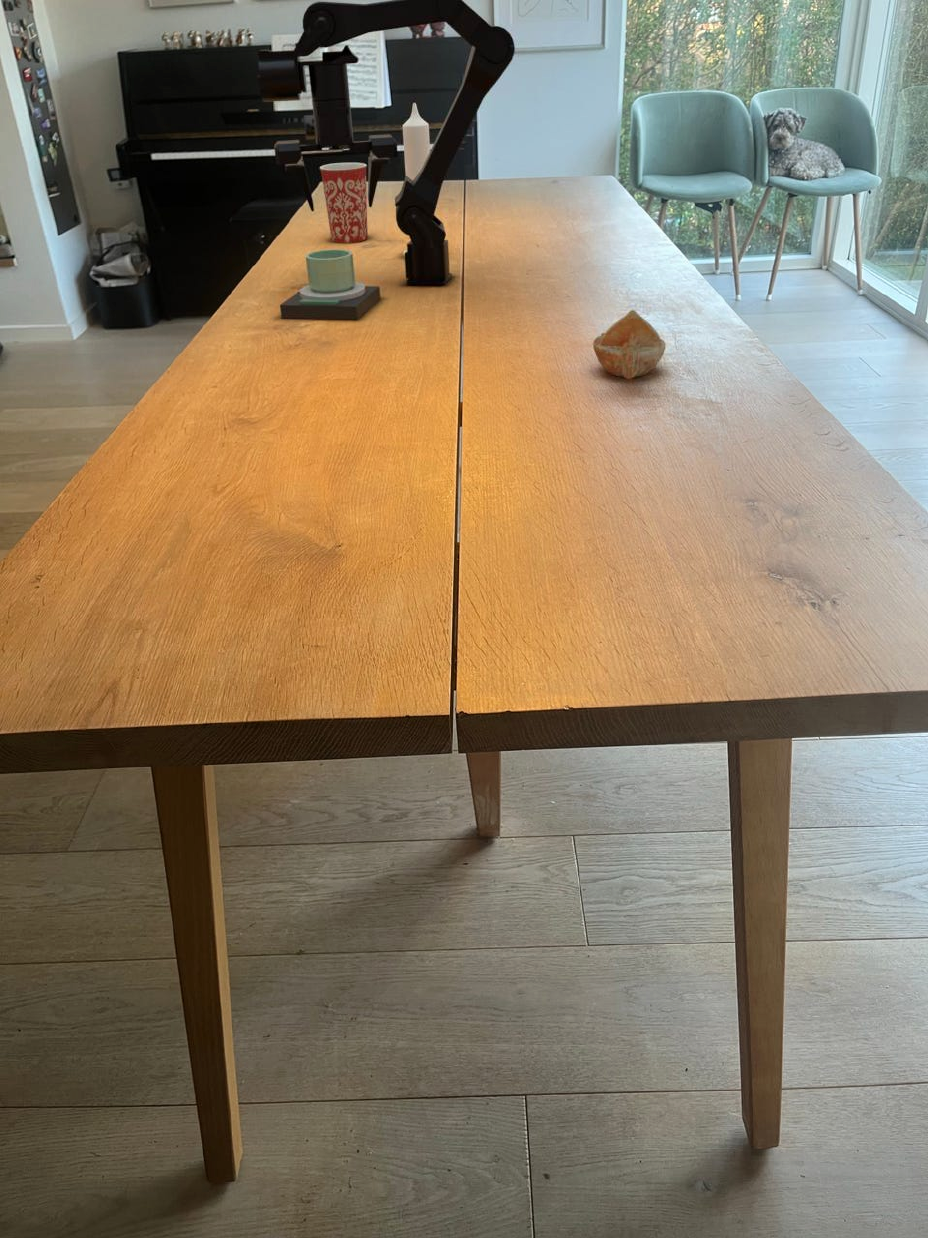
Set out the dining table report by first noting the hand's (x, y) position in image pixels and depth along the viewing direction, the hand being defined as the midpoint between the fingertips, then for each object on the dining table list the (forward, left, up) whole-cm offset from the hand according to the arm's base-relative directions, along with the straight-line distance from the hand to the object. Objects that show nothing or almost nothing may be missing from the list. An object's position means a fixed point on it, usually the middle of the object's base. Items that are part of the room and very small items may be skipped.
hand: (341, 208), depth 158 cm
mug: (+12, -39, -12) cm, 42 cm away
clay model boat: (-49, +39, -12) cm, 64 cm away
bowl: (-2, +13, -9) cm, 16 cm away
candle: (-7, -23, -12) cm, 27 cm away
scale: (-2, +14, -12) cm, 19 cm away
